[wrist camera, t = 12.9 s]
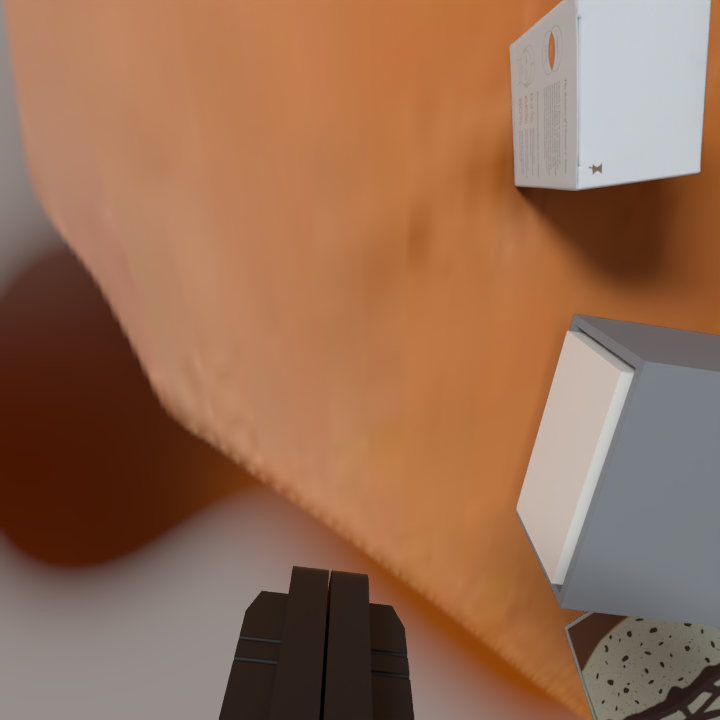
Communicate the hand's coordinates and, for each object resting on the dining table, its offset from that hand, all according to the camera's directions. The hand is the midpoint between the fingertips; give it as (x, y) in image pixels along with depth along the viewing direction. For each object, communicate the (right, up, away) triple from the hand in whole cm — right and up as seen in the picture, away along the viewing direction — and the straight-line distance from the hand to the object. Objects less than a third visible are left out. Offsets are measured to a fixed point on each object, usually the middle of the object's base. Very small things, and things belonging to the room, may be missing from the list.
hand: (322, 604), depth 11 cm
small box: (+13, +20, +22) cm, 32 cm away
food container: (+23, -17, +35) cm, 45 cm away
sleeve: (+21, 0, +29) cm, 36 cm away
